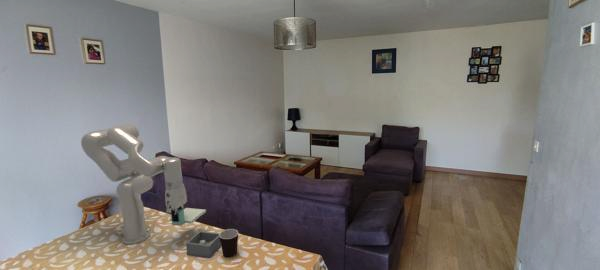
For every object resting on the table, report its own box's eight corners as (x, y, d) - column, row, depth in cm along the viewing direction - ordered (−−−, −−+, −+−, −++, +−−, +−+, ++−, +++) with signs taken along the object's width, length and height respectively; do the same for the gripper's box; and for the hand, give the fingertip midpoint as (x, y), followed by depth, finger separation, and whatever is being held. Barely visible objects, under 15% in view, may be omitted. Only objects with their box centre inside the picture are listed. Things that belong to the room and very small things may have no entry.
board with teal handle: (186, 209, 151) (185, 197, 150) (206, 211, 148) (205, 199, 147) (165, 224, 135) (164, 210, 134) (187, 226, 133) (185, 212, 131)
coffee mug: (234, 260, 124) (233, 239, 123) (217, 258, 126) (215, 237, 124) (244, 245, 136) (243, 226, 134) (228, 243, 137) (227, 225, 136)
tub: (187, 254, 129) (185, 243, 128) (200, 241, 139) (199, 230, 138) (210, 258, 126) (209, 246, 125) (222, 244, 136) (221, 233, 135)
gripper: (169, 190, 123) (173, 228, 126) (191, 178, 139) (194, 212, 142) (154, 189, 125) (159, 227, 128) (178, 177, 140) (182, 211, 144)
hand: (178, 219), depth 135 cm, fingers closed on board with teal handle, 3 cm apart
